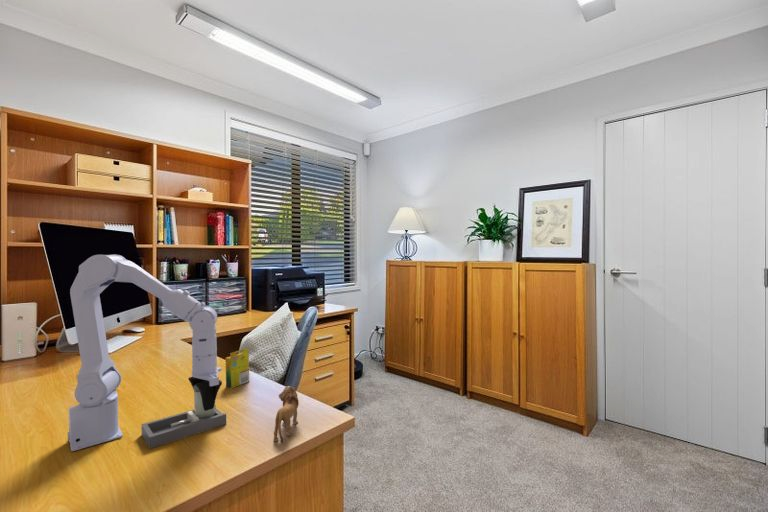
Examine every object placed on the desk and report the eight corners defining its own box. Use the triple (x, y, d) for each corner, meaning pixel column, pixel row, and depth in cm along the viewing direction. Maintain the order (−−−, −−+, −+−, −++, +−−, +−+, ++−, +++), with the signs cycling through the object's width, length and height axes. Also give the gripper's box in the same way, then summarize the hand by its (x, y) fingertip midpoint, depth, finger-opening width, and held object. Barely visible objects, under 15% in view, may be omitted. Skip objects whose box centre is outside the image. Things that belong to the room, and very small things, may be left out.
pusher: (174, 434, 87) (174, 425, 87) (167, 425, 92) (167, 417, 92) (199, 426, 91) (199, 418, 91) (191, 418, 96) (191, 410, 96)
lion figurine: (279, 417, 98) (279, 384, 98) (299, 416, 99) (299, 383, 99) (271, 446, 84) (271, 407, 83) (295, 444, 84) (294, 405, 84)
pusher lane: (149, 448, 83) (149, 437, 83) (141, 434, 89) (141, 424, 89) (226, 424, 95) (226, 414, 94) (214, 413, 101) (214, 403, 101)
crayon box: (244, 380, 127) (243, 346, 127) (249, 381, 125) (249, 347, 125) (225, 387, 121) (224, 351, 120) (231, 388, 119) (230, 353, 119)
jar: (199, 421, 92) (198, 389, 91) (191, 415, 95) (190, 385, 95) (219, 414, 95) (218, 383, 95) (210, 409, 99) (210, 379, 98)
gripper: (230, 356, 92) (231, 410, 93) (211, 346, 103) (211, 394, 103) (201, 362, 88) (201, 419, 88) (183, 350, 98) (184, 401, 98)
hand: (205, 406), depth 95 cm, fingers closed on jar, 5 cm apart
